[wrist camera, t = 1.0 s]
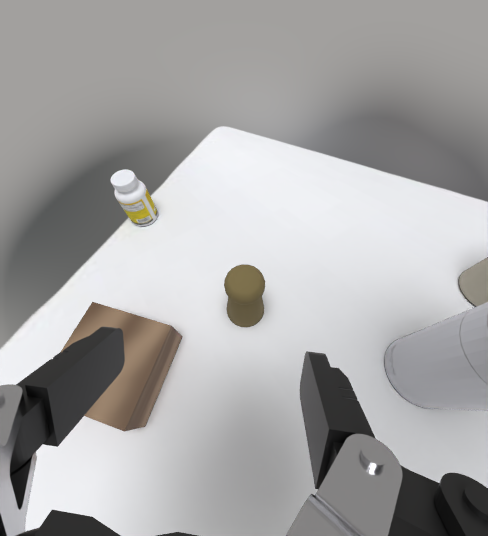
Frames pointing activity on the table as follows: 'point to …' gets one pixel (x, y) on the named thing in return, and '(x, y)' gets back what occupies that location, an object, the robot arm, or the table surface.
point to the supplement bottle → (134, 198)
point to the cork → (245, 295)
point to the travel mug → (475, 283)
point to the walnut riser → (131, 365)
